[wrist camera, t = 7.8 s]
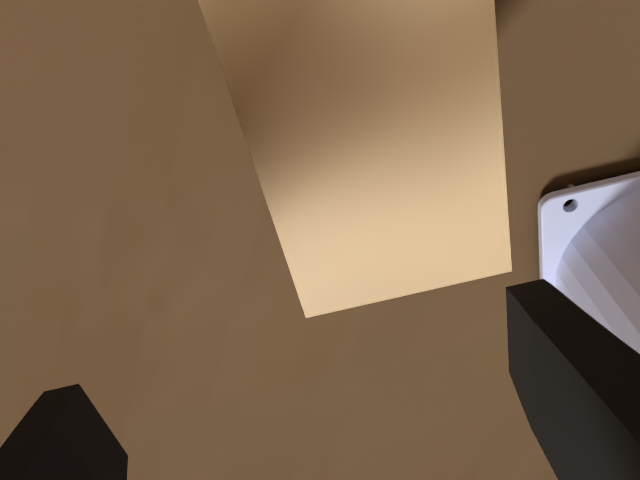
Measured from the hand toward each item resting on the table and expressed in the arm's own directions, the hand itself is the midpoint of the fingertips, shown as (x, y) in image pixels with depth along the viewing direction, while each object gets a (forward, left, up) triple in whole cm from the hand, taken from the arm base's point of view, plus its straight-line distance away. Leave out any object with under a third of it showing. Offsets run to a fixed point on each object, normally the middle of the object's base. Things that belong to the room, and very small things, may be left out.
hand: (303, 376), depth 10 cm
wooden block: (-2, -3, -8) cm, 9 cm away
